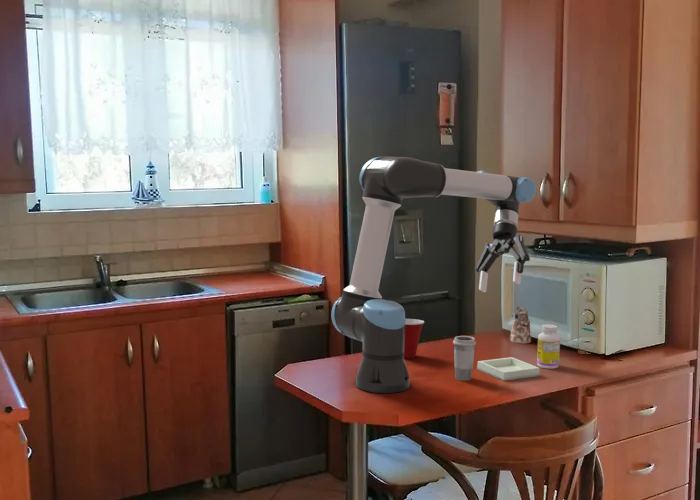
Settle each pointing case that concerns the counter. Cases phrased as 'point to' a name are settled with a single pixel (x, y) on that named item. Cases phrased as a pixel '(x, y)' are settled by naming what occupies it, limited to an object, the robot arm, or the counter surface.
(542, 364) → the supplement bottle
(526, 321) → the figurine
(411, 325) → the plastic cup
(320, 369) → the counter surface
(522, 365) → the tray
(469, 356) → the cup
